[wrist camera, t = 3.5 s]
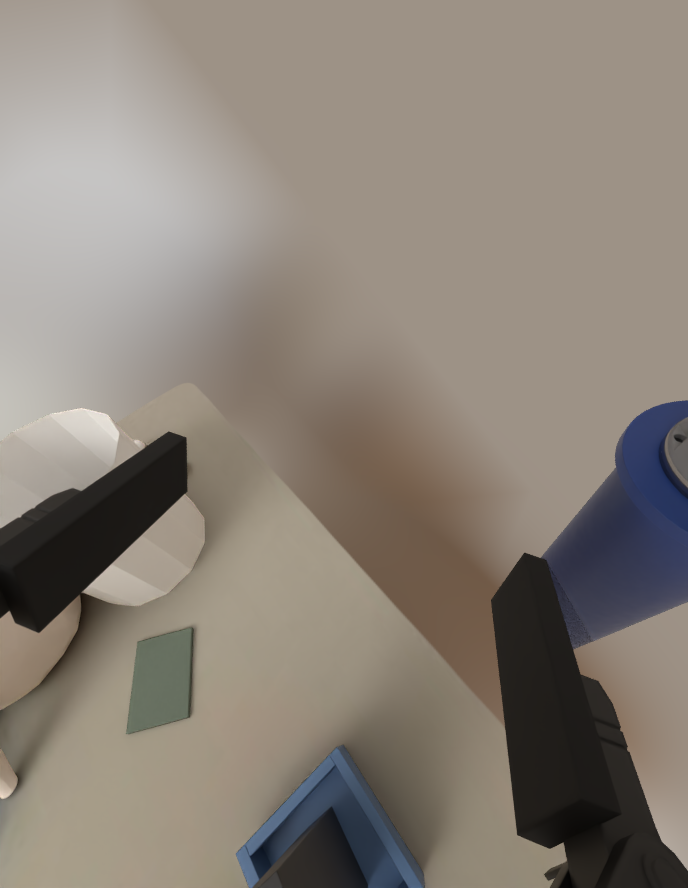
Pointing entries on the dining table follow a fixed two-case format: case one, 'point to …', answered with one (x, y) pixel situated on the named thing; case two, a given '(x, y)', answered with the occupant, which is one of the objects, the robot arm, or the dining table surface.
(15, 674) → the watering can
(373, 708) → the dining table surface
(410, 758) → the dining table surface
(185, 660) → the mat
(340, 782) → the box
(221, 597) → the dining table surface
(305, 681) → the dining table surface
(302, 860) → the block
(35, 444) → the container
